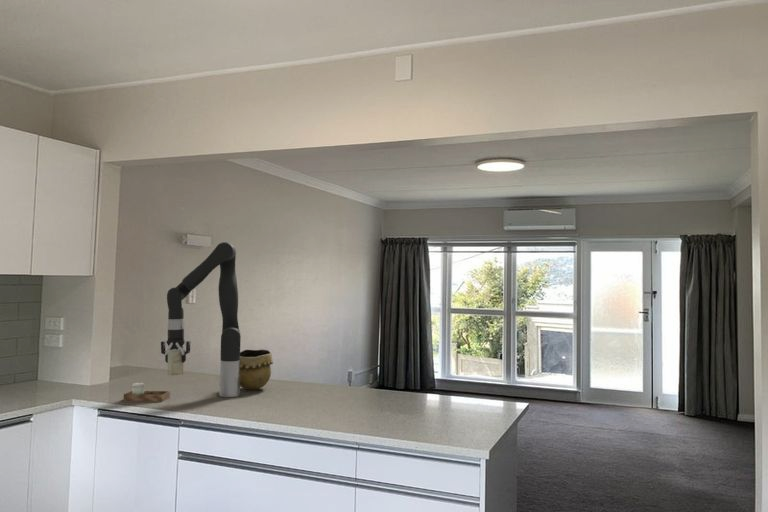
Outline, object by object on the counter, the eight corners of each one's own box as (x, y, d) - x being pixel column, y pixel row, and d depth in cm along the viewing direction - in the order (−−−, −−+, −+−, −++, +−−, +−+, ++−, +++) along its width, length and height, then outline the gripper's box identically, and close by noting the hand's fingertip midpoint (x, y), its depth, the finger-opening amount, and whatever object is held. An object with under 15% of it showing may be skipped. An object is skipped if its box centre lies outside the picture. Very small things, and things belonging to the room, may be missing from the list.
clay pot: (264, 394, 287) (265, 353, 288) (224, 392, 290) (225, 352, 291) (278, 387, 307) (279, 349, 308) (240, 385, 311) (241, 348, 312)
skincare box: (172, 376, 275) (172, 350, 275) (167, 375, 278) (167, 349, 278) (183, 374, 280) (184, 349, 280) (178, 373, 283) (178, 348, 283)
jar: (145, 398, 269) (146, 383, 269) (141, 400, 264) (141, 384, 264) (134, 397, 269) (135, 382, 269) (129, 400, 264) (130, 384, 264)
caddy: (169, 399, 271) (170, 391, 271) (162, 403, 261) (162, 395, 262) (132, 398, 271) (132, 390, 271) (123, 402, 262) (123, 394, 262)
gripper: (193, 327, 283) (192, 361, 283) (164, 327, 284) (163, 361, 283) (187, 328, 276) (187, 363, 275) (158, 329, 276) (157, 363, 275)
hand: (175, 362), depth 279 cm, fingers closed on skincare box, 7 cm apart
